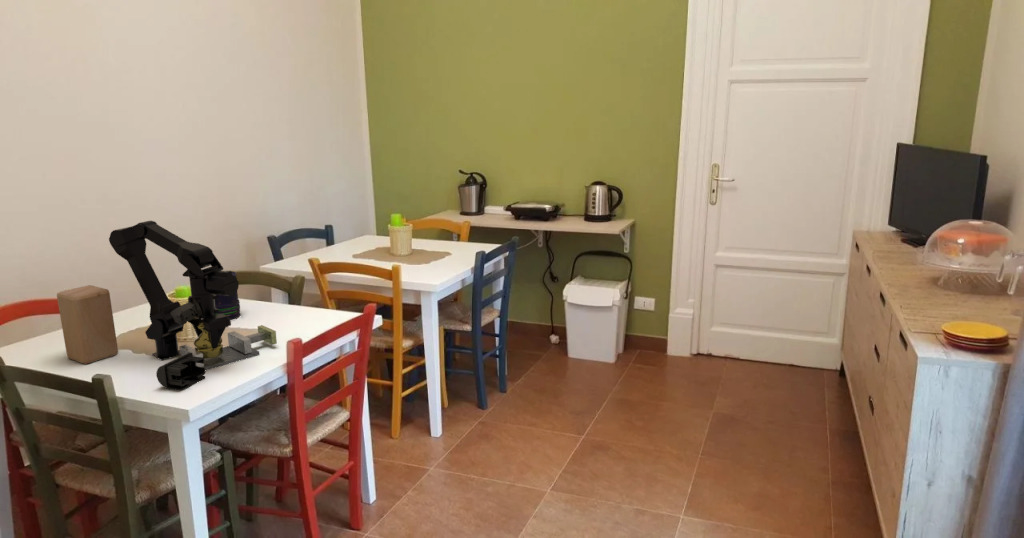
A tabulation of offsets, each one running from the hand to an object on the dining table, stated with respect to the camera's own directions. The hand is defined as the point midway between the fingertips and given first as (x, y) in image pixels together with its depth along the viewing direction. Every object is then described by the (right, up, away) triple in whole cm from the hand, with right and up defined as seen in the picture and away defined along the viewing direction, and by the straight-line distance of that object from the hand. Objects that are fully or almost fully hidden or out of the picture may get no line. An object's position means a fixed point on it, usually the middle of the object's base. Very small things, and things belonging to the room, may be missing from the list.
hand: (208, 345), depth 195 cm
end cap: (-1, -9, -13) cm, 16 cm away
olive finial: (0, -3, +1) cm, 3 cm away
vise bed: (+2, -4, +3) cm, 6 cm away
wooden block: (-35, -4, +5) cm, 36 cm away
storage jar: (-12, +5, +40) cm, 42 cm away
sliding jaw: (+9, -1, +10) cm, 14 cm away
